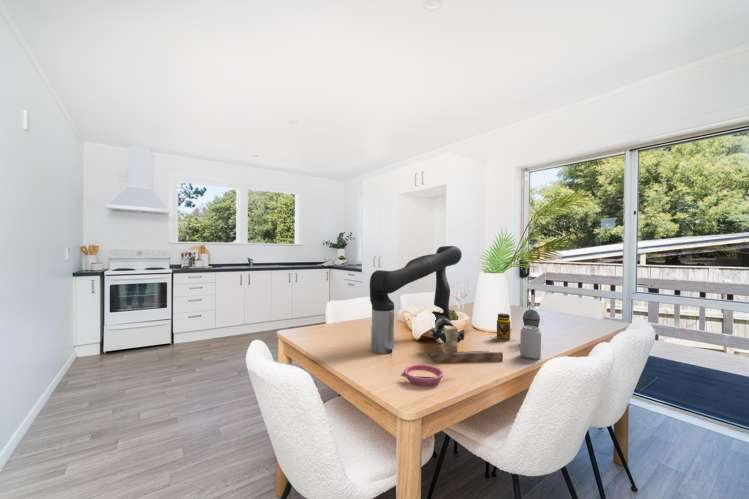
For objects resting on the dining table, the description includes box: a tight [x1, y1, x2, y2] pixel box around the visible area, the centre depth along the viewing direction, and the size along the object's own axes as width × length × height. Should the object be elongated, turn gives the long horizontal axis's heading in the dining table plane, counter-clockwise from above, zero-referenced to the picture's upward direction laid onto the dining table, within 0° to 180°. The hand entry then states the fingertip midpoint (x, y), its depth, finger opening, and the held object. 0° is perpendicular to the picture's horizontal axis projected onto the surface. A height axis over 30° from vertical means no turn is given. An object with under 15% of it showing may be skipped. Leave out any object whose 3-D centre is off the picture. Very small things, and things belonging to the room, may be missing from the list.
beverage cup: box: [522, 299, 541, 328], centre depth 148 cm, size 7×7×20 cm
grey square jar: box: [519, 325, 542, 360], centre depth 130 cm, size 8×8×12 cm
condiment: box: [490, 312, 514, 342], centre depth 156 cm, size 7×8×12 cm
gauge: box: [443, 325, 459, 353], centre depth 123 cm, size 4×7×10 cm
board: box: [425, 350, 504, 364], centre depth 125 cm, size 26×12×4 cm, turn 97°
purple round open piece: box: [404, 364, 444, 387], centre depth 106 cm, size 12×12×3 cm
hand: (451, 339), depth 122 cm, fingers closed on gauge, 4 cm apart
